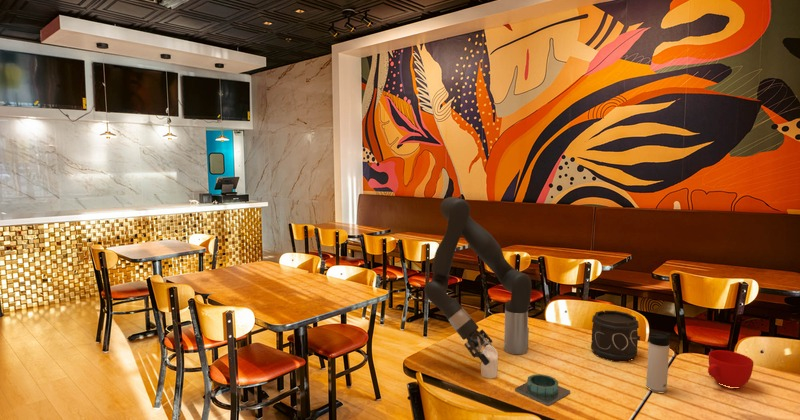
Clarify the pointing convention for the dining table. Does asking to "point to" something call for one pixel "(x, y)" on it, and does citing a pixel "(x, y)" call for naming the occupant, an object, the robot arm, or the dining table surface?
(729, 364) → the ceramic cup
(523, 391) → the socket plate
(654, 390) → the travel mug
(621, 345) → the black coffee canister
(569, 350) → the dining table surface
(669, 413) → the dining table surface
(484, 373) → the white crystal
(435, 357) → the dining table surface
